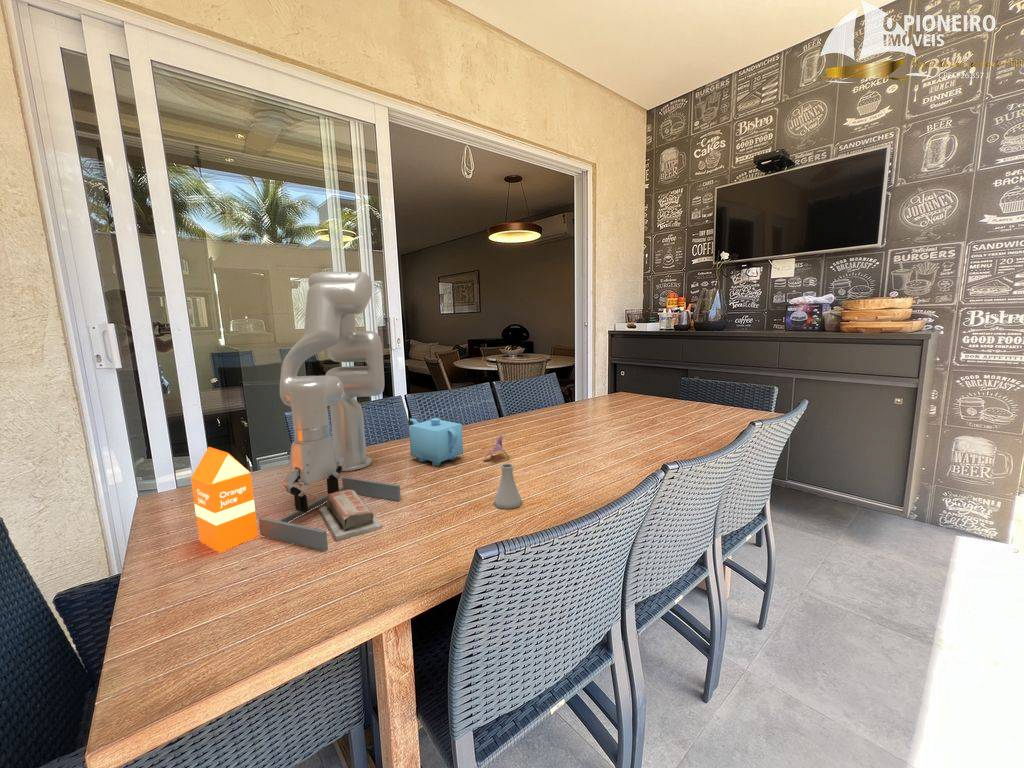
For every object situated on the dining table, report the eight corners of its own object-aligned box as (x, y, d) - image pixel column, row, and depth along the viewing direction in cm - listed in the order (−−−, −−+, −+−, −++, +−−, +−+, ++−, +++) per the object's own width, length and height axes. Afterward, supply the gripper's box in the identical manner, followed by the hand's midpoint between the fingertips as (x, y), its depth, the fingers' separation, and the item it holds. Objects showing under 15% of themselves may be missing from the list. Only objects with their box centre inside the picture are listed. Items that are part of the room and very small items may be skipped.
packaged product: (317, 493, 103) (359, 484, 109) (318, 512, 104) (360, 502, 110) (334, 522, 89) (381, 509, 94) (336, 543, 89) (383, 530, 95)
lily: (505, 454, 148) (491, 430, 147) (528, 447, 140) (513, 423, 139) (484, 474, 140) (469, 449, 139) (507, 468, 131) (491, 442, 130)
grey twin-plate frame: (260, 536, 92) (258, 518, 92) (345, 490, 116) (344, 476, 115) (324, 551, 86) (323, 532, 85) (400, 499, 109) (399, 485, 109)
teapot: (469, 460, 139) (467, 419, 137) (444, 470, 130) (442, 426, 128) (424, 448, 152) (422, 410, 150) (399, 456, 144) (396, 417, 141)
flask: (492, 498, 110) (491, 461, 108) (520, 496, 110) (520, 459, 109) (494, 510, 103) (493, 471, 101) (523, 509, 103) (523, 469, 102)
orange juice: (219, 553, 85) (206, 458, 82) (199, 542, 90) (186, 451, 87) (259, 536, 92) (248, 447, 89) (238, 526, 97) (227, 441, 94)
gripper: (327, 423, 109) (333, 486, 112) (267, 442, 93) (275, 515, 96) (351, 425, 106) (356, 490, 109) (293, 445, 90) (300, 520, 93)
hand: (318, 502), depth 102 cm, fingers open, 9 cm apart
